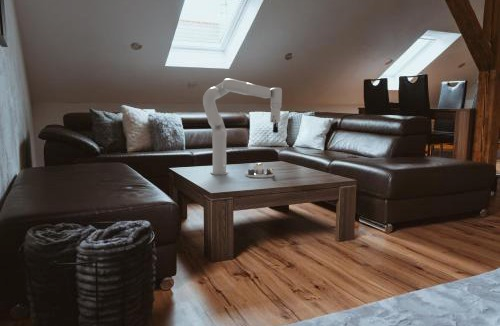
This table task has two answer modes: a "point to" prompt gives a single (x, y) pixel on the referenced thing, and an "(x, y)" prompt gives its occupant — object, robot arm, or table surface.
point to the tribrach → (258, 172)
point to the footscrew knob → (269, 171)
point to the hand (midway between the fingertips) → (275, 132)
